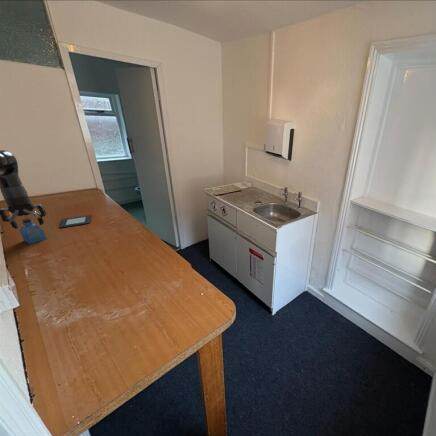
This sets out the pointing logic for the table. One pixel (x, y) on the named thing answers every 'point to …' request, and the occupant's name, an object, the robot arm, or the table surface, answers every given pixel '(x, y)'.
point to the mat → (75, 221)
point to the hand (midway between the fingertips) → (29, 226)
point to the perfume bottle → (31, 231)
